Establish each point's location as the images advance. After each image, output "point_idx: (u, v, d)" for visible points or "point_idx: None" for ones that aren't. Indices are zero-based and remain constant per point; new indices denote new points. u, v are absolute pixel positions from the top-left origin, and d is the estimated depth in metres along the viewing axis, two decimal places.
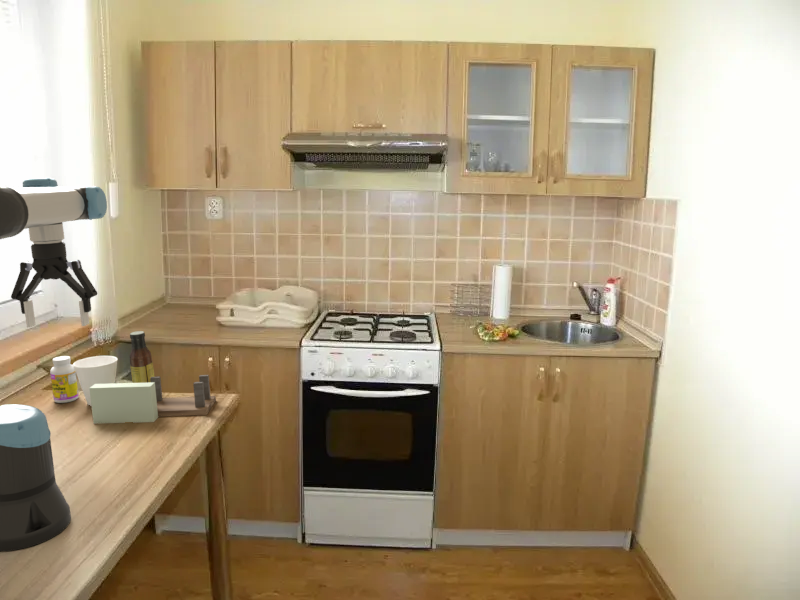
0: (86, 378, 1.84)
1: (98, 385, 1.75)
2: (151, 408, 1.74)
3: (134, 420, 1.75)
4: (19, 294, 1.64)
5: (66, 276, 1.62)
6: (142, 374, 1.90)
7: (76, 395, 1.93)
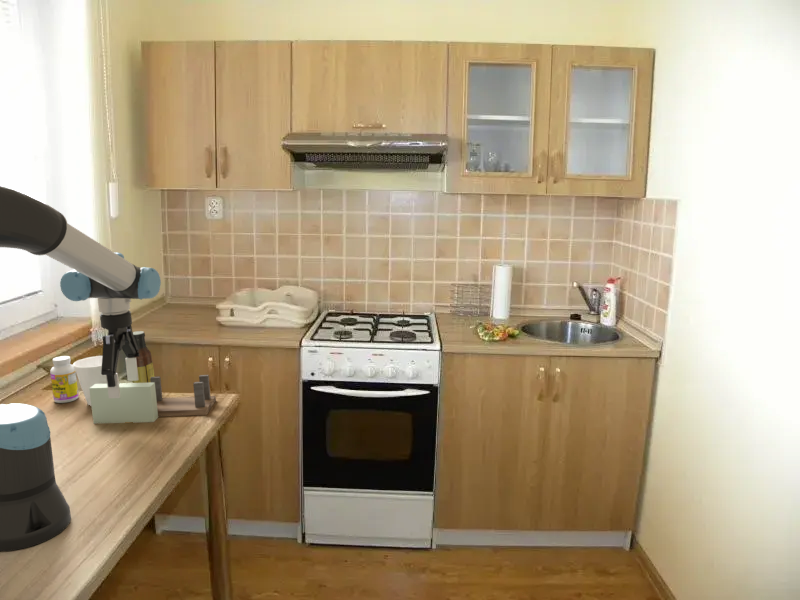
0: (86, 378, 1.84)
1: (98, 385, 1.75)
2: (151, 408, 1.74)
3: (134, 420, 1.75)
4: None
5: None
6: (142, 374, 1.90)
7: (76, 395, 1.93)
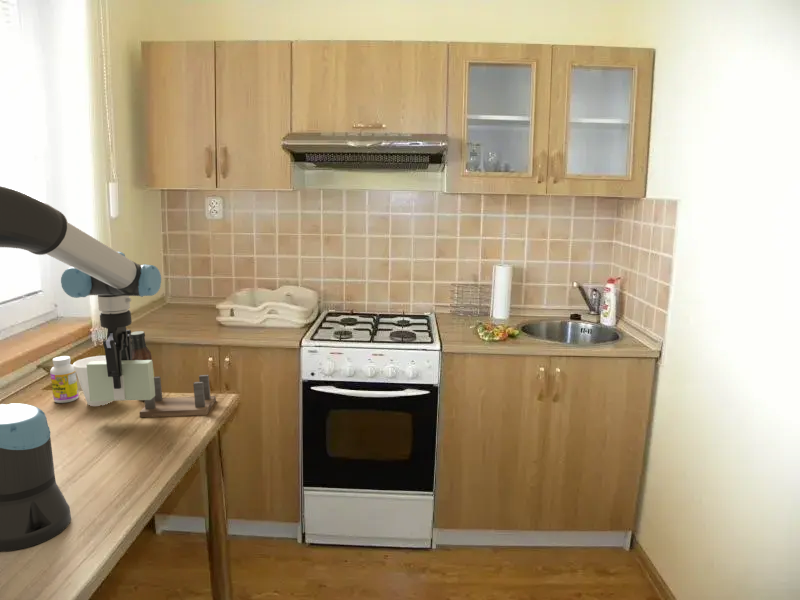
0: (86, 378, 1.84)
1: (95, 362, 1.74)
2: (148, 385, 1.73)
3: (131, 397, 1.73)
4: None
5: None
6: None
7: (76, 395, 1.93)
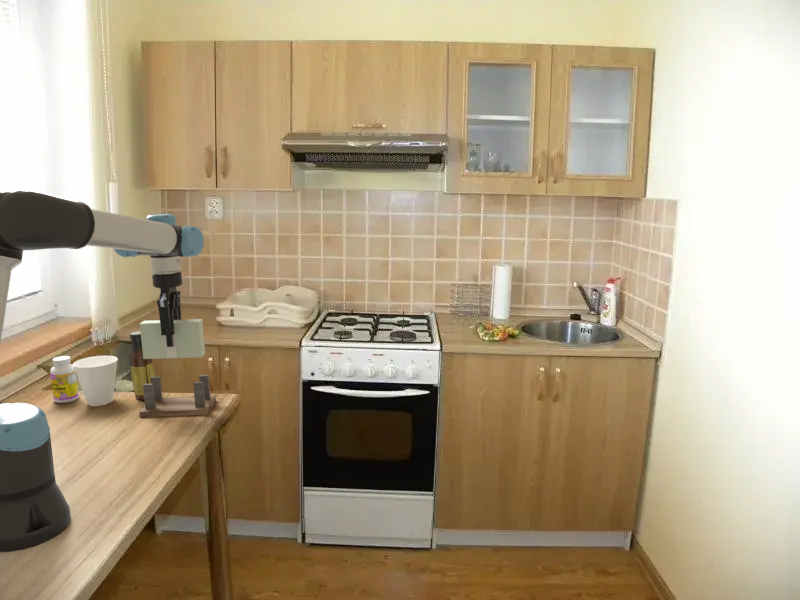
0: (86, 378, 1.84)
1: (148, 321, 1.80)
2: (199, 343, 1.79)
3: (183, 355, 1.80)
4: None
5: None
6: (142, 374, 1.90)
7: (76, 395, 1.93)
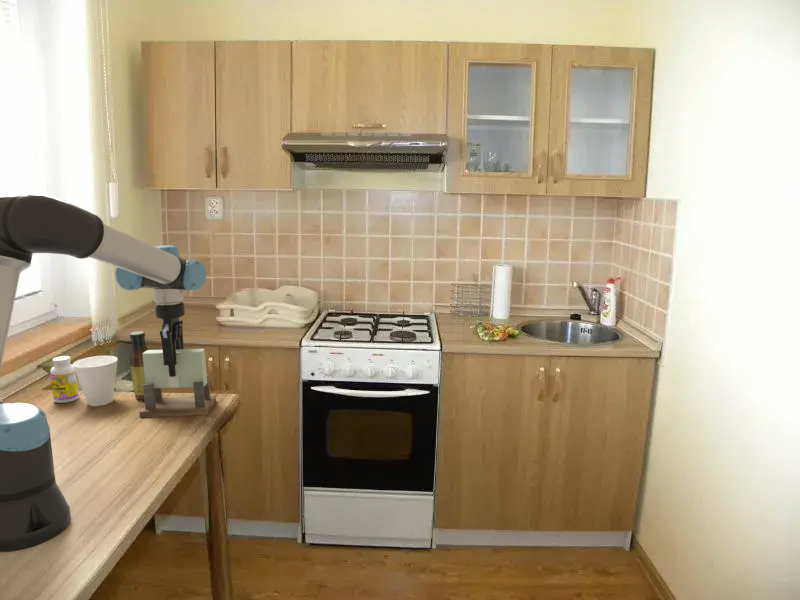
0: (86, 378, 1.84)
1: (150, 351, 1.81)
2: (202, 373, 1.81)
3: (185, 384, 1.81)
4: None
5: None
6: (142, 374, 1.90)
7: (76, 395, 1.93)
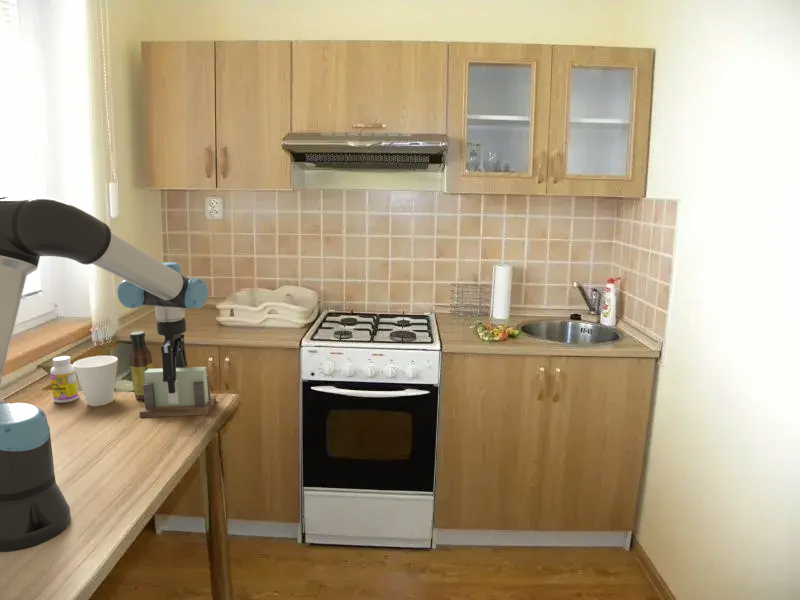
0: (86, 378, 1.84)
1: (152, 369, 1.82)
2: None
3: (187, 403, 1.82)
4: None
5: None
6: (142, 374, 1.90)
7: (76, 395, 1.93)
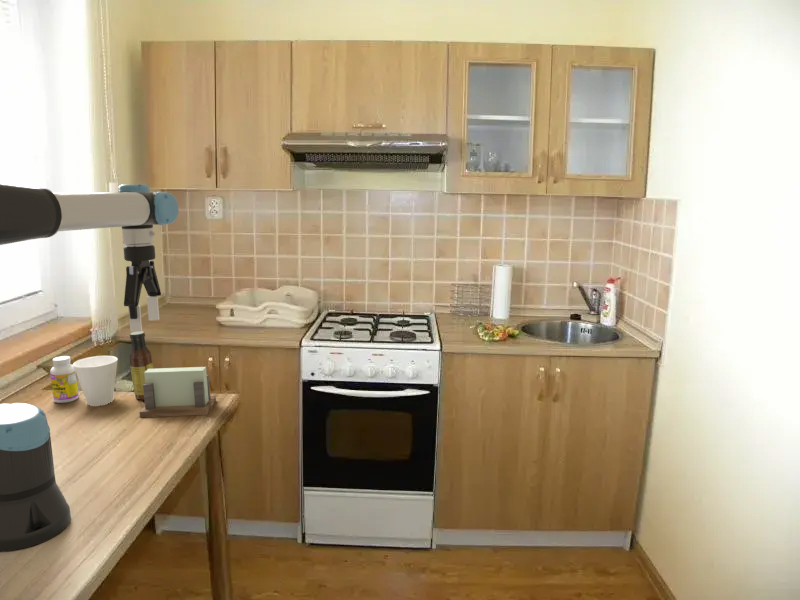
0: (86, 378, 1.84)
1: (152, 369, 1.82)
2: None
3: (187, 403, 1.82)
4: None
5: None
6: (142, 374, 1.90)
7: (76, 395, 1.93)
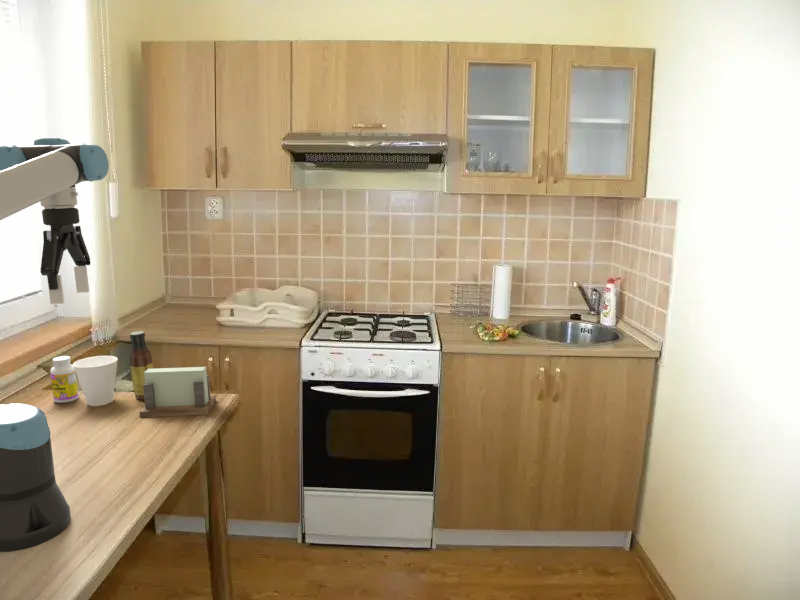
0: (86, 378, 1.84)
1: (152, 369, 1.82)
2: None
3: (187, 403, 1.82)
4: None
5: None
6: (142, 374, 1.90)
7: (76, 395, 1.93)
